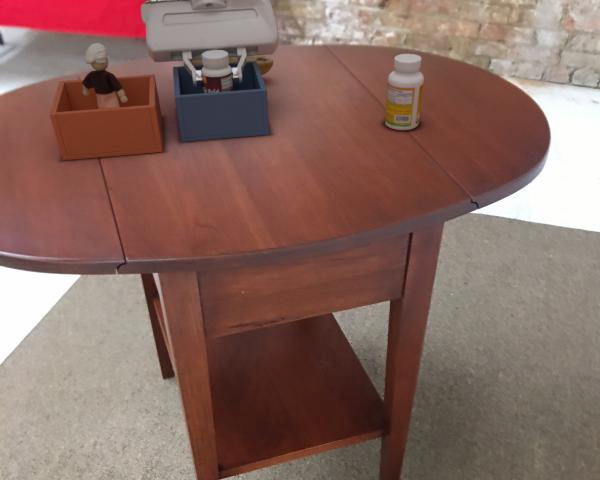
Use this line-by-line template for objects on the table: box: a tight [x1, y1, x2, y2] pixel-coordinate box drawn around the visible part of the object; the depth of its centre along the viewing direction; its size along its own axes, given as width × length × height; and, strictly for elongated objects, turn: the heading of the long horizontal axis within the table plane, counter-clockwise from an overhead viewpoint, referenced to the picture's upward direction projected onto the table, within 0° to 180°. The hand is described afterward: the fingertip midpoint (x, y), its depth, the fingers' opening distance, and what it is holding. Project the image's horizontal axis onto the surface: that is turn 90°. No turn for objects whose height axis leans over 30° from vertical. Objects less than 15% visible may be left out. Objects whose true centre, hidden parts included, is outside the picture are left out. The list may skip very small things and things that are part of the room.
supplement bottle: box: [384, 53, 425, 131], centre depth 97 cm, size 5×5×10 cm
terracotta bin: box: [49, 74, 164, 161], centre depth 96 cm, size 15×14×7 cm
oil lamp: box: [192, 55, 274, 76], centre depth 114 cm, size 11×14×5 cm
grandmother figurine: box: [82, 42, 128, 109], centre depth 94 cm, size 8×4×13 cm, turn 78°
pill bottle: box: [201, 50, 234, 93], centre depth 98 cm, size 5×5×8 cm
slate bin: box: [172, 61, 270, 143], centre depth 100 cm, size 14×14×7 cm
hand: (218, 83), depth 98 cm, fingers closed on pill bottle, 5 cm apart
